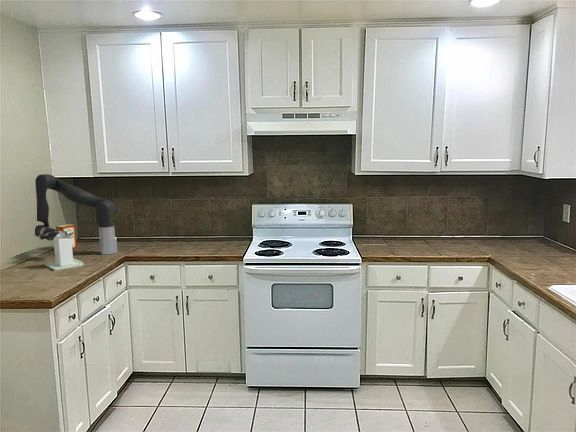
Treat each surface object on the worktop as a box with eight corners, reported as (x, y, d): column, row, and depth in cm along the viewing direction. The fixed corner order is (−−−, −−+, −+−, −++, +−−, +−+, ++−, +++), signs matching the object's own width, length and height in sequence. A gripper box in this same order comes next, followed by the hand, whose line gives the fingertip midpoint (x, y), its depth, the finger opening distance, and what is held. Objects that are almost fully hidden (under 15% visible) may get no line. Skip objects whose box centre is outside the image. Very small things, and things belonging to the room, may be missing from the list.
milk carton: (68, 262, 259) (65, 230, 256) (73, 264, 254) (70, 231, 252) (55, 264, 254) (52, 231, 251) (60, 266, 249) (57, 233, 246)
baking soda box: (64, 250, 293) (61, 226, 291) (57, 249, 296) (55, 225, 294) (76, 247, 301) (75, 224, 299) (70, 246, 304) (68, 223, 302)
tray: (74, 260, 265) (74, 258, 265) (84, 265, 254) (84, 263, 254) (45, 265, 254) (45, 263, 254) (54, 270, 243) (53, 268, 243)
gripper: (35, 229, 267) (42, 232, 255) (60, 225, 276) (69, 228, 265) (36, 241, 268) (44, 245, 256) (61, 237, 278) (70, 241, 266)
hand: (57, 236), depth 261 cm, fingers open, 8 cm apart
